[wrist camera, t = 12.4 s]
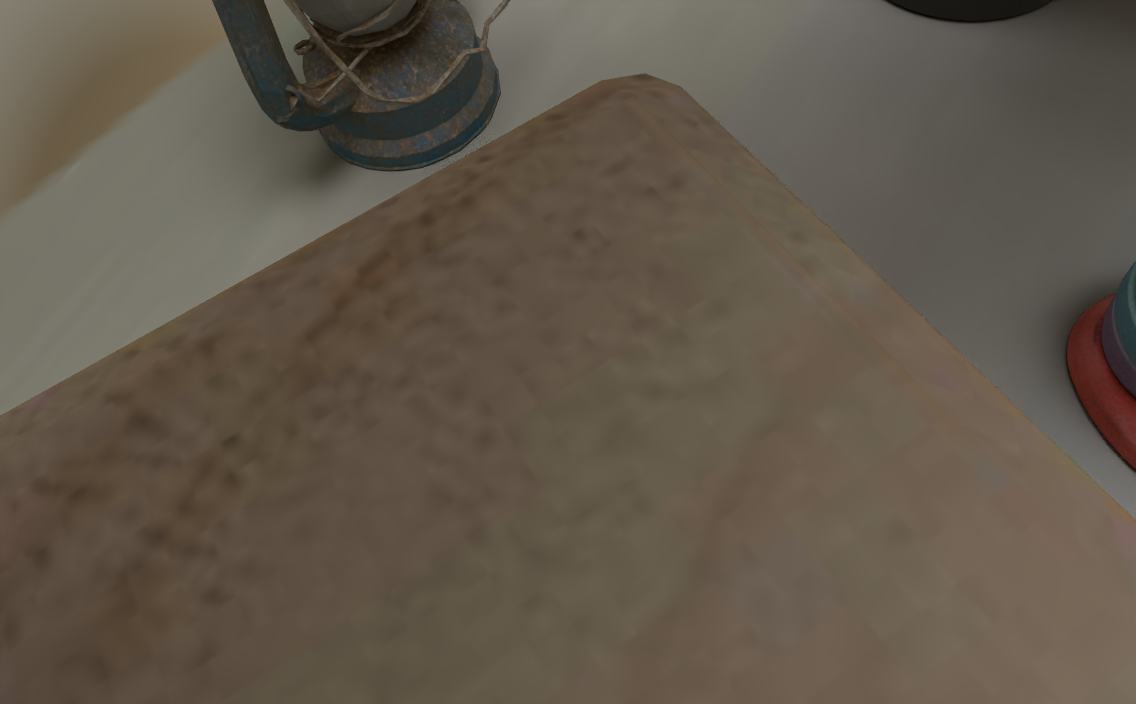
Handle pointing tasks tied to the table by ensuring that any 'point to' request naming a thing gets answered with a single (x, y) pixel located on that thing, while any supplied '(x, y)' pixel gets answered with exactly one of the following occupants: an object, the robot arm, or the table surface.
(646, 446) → the wooden block
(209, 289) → the table surface
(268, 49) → the lantern
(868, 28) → the table surface
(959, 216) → the table surface
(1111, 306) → the stacking bear
